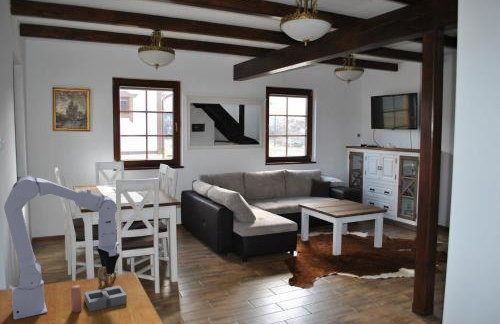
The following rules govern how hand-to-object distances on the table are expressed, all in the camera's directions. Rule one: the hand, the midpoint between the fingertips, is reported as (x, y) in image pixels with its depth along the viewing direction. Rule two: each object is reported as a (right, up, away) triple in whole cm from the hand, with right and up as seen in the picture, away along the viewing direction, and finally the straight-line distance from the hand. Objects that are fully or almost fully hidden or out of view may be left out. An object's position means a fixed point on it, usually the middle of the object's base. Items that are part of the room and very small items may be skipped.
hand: (107, 269), depth 145 cm
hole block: (0, -10, -2) cm, 11 cm away
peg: (-7, -11, -9) cm, 16 cm away
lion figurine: (-4, -9, +12) cm, 16 cm away
